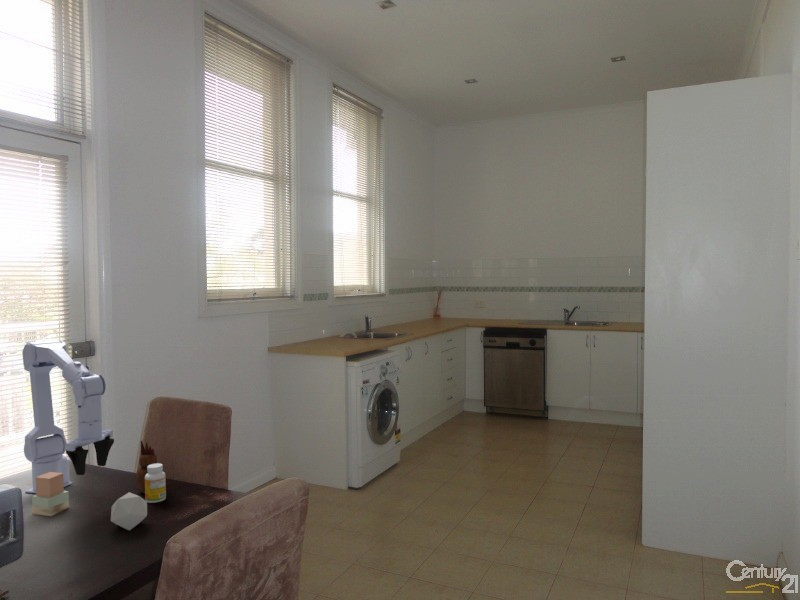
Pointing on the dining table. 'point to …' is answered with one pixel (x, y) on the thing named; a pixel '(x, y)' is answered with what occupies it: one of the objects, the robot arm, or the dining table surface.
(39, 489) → the terracotta block
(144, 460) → the wooden figurine
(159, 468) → the supplement bottle
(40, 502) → the tower top block
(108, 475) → the dining table surface
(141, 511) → the die
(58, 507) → the tower base block
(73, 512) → the dining table surface
